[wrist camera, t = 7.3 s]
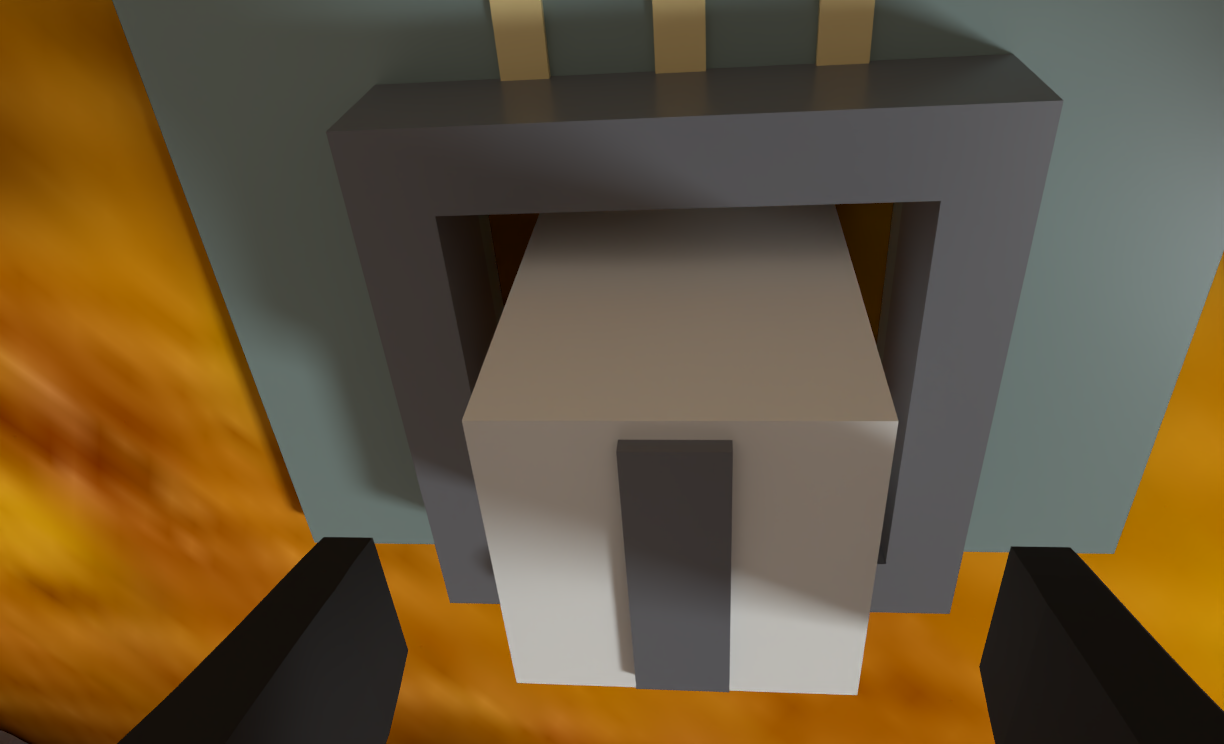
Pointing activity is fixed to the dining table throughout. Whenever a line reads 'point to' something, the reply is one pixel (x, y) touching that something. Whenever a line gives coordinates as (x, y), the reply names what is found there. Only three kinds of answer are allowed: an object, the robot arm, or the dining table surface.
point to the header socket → (711, 178)
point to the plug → (685, 452)
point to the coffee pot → (9, 739)
